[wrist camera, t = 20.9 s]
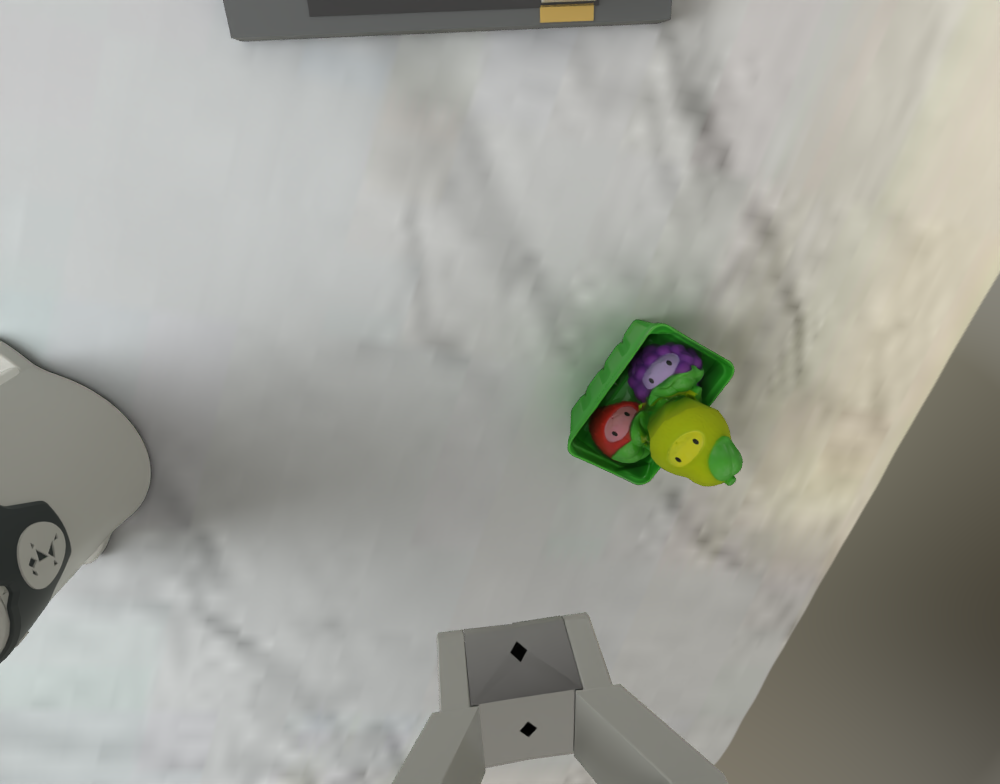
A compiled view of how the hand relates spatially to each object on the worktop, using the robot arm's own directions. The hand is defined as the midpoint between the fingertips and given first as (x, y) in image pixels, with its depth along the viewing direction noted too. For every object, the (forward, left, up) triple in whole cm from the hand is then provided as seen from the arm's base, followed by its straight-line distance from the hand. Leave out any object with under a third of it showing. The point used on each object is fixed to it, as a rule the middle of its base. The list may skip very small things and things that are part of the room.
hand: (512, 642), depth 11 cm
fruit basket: (+14, -11, -31) cm, 36 cm away
